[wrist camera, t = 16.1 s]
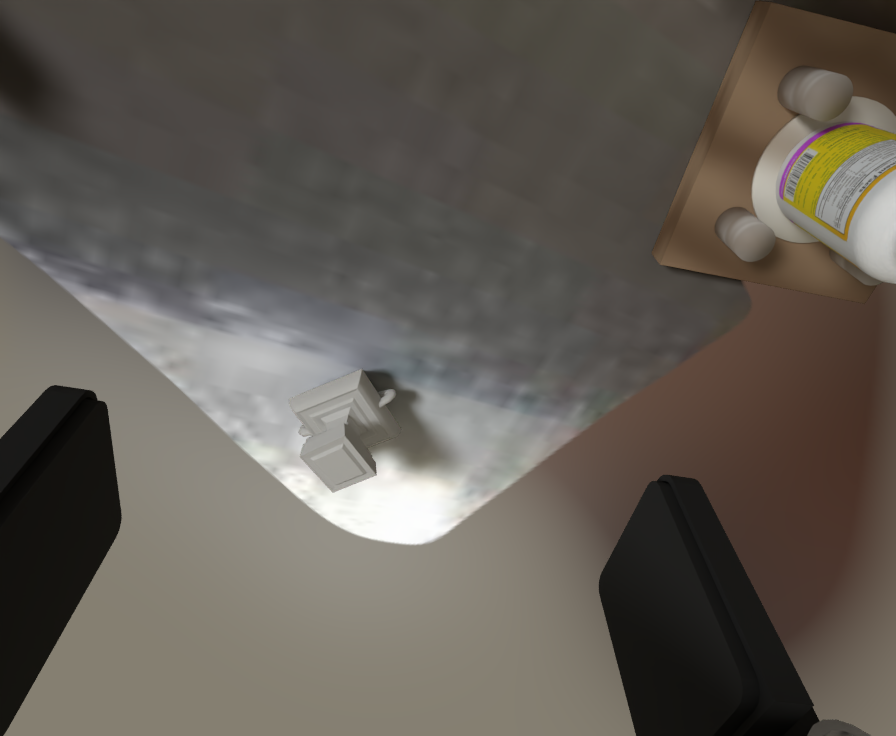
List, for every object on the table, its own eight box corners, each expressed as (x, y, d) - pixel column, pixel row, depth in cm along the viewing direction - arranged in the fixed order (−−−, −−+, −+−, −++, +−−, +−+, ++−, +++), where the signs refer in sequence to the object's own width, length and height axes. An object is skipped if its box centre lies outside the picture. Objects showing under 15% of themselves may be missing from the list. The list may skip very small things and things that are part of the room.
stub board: (755, 0, 35) (803, 5, 31) (993, 61, 37) (1072, 74, 33) (651, 253, 44) (676, 286, 39) (849, 291, 46) (895, 327, 41)
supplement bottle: (888, 189, 39) (1059, 272, 28) (786, 241, 41) (909, 337, 30) (868, 94, 36) (1052, 148, 25) (758, 155, 38) (885, 229, 27)
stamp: (377, 345, 48) (367, 410, 41) (415, 405, 51) (412, 475, 44) (282, 386, 50) (257, 455, 43) (324, 441, 53) (308, 513, 46)
